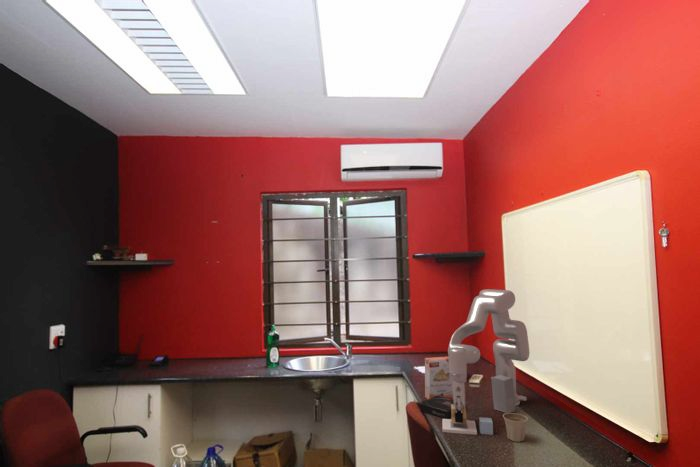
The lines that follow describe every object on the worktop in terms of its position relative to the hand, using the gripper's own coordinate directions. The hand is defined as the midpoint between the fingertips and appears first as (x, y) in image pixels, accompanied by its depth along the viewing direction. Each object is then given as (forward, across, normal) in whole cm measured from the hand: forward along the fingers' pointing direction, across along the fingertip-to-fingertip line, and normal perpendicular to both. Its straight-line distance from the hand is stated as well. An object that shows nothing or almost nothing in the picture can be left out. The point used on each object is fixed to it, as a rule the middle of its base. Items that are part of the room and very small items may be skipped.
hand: (458, 418), depth 180 cm
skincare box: (+4, +26, -22) cm, 34 cm away
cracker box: (+4, +38, +8) cm, 39 cm away
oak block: (+1, 0, 0) cm, 1 cm away
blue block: (+4, -2, -11) cm, 12 cm away
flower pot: (+4, -7, -22) cm, 23 cm away
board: (+4, 0, 0) cm, 4 cm away
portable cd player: (+4, +20, +7) cm, 22 cm away
